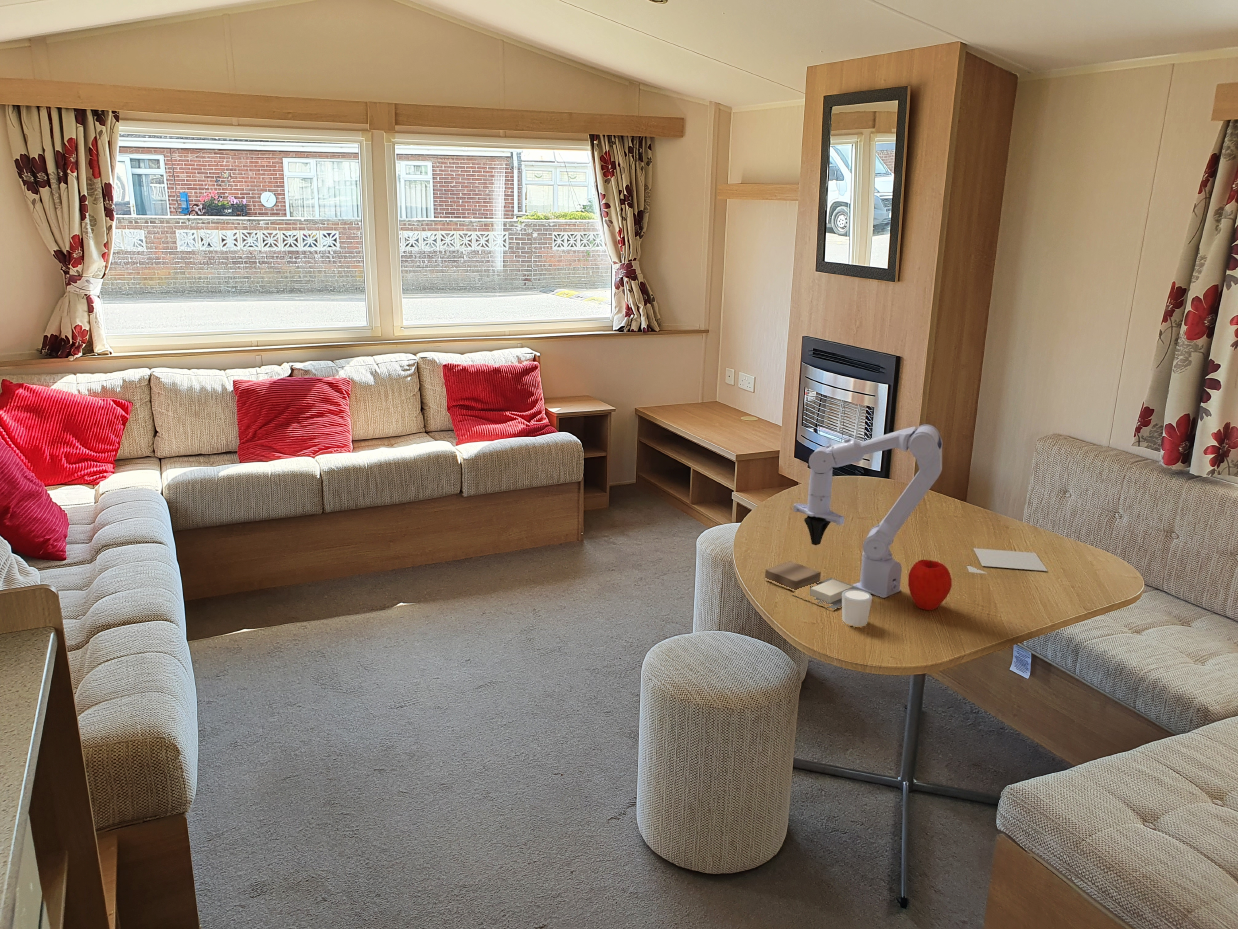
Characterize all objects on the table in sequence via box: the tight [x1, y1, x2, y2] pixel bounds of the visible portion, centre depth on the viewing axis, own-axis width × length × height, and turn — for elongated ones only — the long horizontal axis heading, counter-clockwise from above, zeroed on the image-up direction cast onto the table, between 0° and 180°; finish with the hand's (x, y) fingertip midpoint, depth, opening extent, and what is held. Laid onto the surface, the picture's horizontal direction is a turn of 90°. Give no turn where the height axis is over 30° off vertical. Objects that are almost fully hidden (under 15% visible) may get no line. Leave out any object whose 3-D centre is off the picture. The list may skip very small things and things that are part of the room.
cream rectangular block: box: [810, 578, 853, 603], centre depth 226 cm, size 6×9×2 cm, turn 131°
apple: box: [907, 559, 953, 611], centre depth 219 cm, size 10×10×12 cm
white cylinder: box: [841, 589, 873, 626], centre depth 211 cm, size 7×7×7 cm
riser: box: [764, 560, 822, 590], centre depth 235 cm, size 10×10×3 cm
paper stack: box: [966, 547, 1048, 574], centre depth 248 cm, size 23×25×1 cm
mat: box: [810, 577, 873, 609], centre depth 227 cm, size 13×16×1 cm
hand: (815, 544), depth 235 cm, fingers closed
